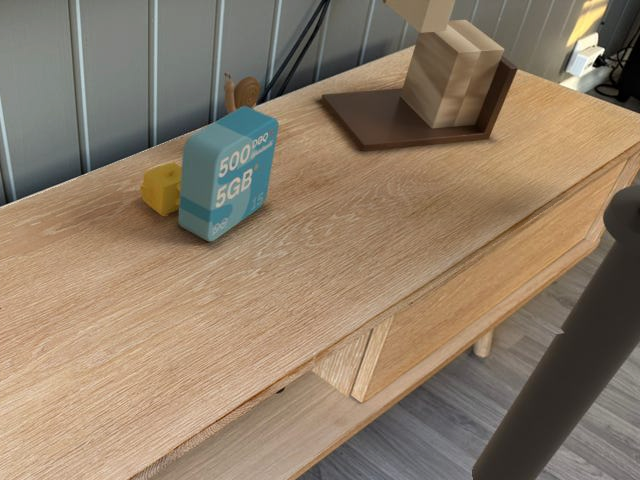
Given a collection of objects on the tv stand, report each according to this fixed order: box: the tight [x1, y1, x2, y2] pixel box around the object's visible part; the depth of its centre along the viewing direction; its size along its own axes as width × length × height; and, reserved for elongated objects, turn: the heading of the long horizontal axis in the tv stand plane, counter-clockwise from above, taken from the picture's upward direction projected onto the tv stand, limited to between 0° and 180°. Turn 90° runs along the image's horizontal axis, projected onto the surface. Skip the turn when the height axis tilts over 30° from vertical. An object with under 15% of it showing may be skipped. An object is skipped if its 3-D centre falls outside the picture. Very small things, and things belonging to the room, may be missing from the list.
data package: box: [177, 106, 279, 243], centre depth 82 cm, size 12×4×12 cm, turn 139°
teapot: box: [138, 161, 182, 217], centre depth 85 cm, size 8×6×5 cm
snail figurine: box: [223, 71, 261, 115], centre depth 93 cm, size 5×6×12 cm
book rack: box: [320, 19, 519, 152], centre depth 101 cm, size 20×15×12 cm
